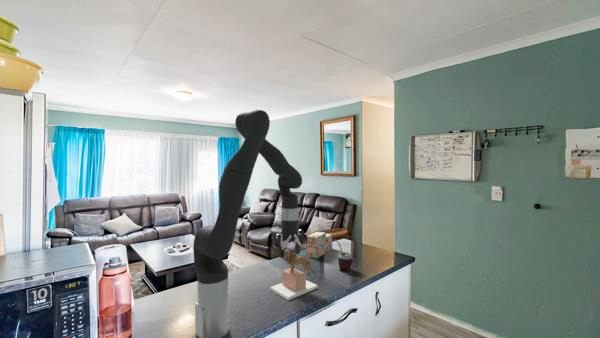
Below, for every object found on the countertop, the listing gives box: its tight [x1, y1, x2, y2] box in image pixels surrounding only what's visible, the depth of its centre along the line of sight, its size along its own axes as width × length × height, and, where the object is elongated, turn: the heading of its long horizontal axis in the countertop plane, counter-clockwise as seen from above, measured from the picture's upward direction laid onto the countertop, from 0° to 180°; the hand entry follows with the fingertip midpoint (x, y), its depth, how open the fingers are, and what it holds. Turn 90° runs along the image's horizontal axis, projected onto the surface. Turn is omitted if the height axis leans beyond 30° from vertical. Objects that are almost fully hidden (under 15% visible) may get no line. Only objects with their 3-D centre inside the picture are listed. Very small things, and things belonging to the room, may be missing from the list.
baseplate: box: [269, 279, 318, 301], centre depth 114 cm, size 16×12×1 cm
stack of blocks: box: [306, 231, 333, 259], centre depth 161 cm, size 21×6×12 cm, turn 148°
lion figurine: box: [282, 249, 316, 276], centre depth 113 cm, size 15×5×9 cm, turn 75°
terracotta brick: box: [281, 267, 307, 292], centre depth 114 cm, size 6×9×6 cm, turn 41°
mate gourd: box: [334, 238, 353, 274], centre depth 134 cm, size 8×8×15 cm
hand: (289, 255), depth 115 cm, fingers open, 8 cm apart
